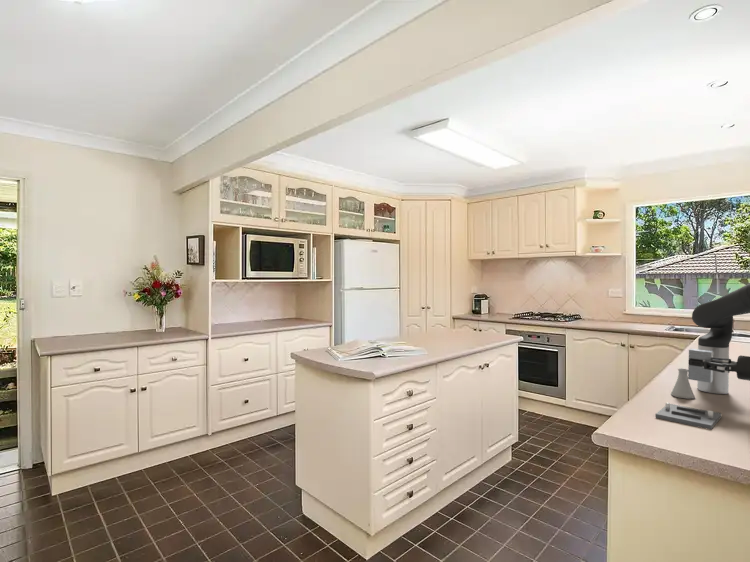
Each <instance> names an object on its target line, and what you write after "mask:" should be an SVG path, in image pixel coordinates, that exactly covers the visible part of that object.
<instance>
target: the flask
mask: <svg viewBox="0 0 750 562" xmlns="http://www.w3.org/2000/svg"><path fill="white" fill-rule="evenodd" d="M677 370H678V376H677V380H676V381H675V382H674V383H675V384H674V386H673V387H672V390H671V392H670V395H671V396H673V397H675V398H680V399H688V400H689V399H691V400H692V399H696V397H695V394H694V391H693V389H692V387H691V386H692V385H691V383H690V379H688V369H687V368H683V367H682V368H681V367H678V368H677Z"/></svg>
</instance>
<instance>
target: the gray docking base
mask: <svg viewBox="0 0 750 562" xmlns="http://www.w3.org/2000/svg"><path fill="white" fill-rule="evenodd" d="M664 404H665V406H664V407H663V408H661V409H660V410H658V411H657V412H656V413H655V417H656V419H659V418H661V419H660V420H664V419H665V420H664V421H668V420H669V422H673V421H674V422H673V423H678V422H679V424H684V425H688V426H693V427H696V428H697V427H698V428H701V427H702V429H706V428H707V429H706V430H712V429H713V428H714V427H715V426H716V424H717V423H718V421H720V419H721V418H722V413H721V412H717V411H713V410H705V409H701V408H696V407H691V406H690V407H689V406H684V405H679V404H678V405H677V404H674V403H670V402H665V403H664ZM714 425H715V426H714Z"/></svg>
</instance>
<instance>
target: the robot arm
mask: <svg viewBox="0 0 750 562" xmlns="http://www.w3.org/2000/svg"><path fill="white" fill-rule="evenodd" d="M746 314H747V315H748V314H750V283H748V284H745V285H744V286H741V287H740V288H738V289H736V290H734V291H731V292H728V293H727V294H725V295H724V296H721V297H719V298H716V299H713V300H711V301H710V300H709V301H706V302H702V303H701V304H699V305H697V306H696V307H695V308H694V309H693V311H692V313H691V319H692V322H693V323H694V324H695V325H696V326H698V327H701V328H704V329H710V330H709V331H708V332H707V333H705V335H702V336H700V337H699V338H698V340H697V344H698V345H697V349H699V350H708V351H713V359H712V360H711V361H709V360H699V359H691V358H690V359H689V358H688V364H687V365H688V366H689V365H692V366H700V367H703V368H704V369H708V370H713V381H712V382H711V383H709V382H703V381H697V383H696V384H697V385H696V386H697V390H698V391H702V392H705V393H710V394H717V395H718V394H720V395H727V394H729V387H730V386H729V385H730V380H729V379H730V378H729V374H730V373H731V372H735V373H736V378H737V379H738V380H743V381H748V382H749V381H750V356H747V355H739V356H738V357H737V360H736V361H734V360H732V358H730V343H731V341H732V338H733V328H734V327H733V325H734V317H735V316H741V315H746ZM709 364H711V367H710V366H708V365H709Z"/></svg>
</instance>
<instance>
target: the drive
mask: <svg viewBox="0 0 750 562" xmlns="http://www.w3.org/2000/svg"><path fill="white" fill-rule="evenodd" d="M690 358H691V359H699V360H709V361H711V360H712V359H713V351H708V350H699V349H698V348H690V349H688V360H689V359H690ZM708 366H710V367H711V364H709V365H708ZM687 367H688V380H689V381H690V380H691V381H703V382H709V383H711V382H712V381H713V370H708V369H704V368H703V367H700V366H692V365H689V364H688V365H687Z"/></svg>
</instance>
